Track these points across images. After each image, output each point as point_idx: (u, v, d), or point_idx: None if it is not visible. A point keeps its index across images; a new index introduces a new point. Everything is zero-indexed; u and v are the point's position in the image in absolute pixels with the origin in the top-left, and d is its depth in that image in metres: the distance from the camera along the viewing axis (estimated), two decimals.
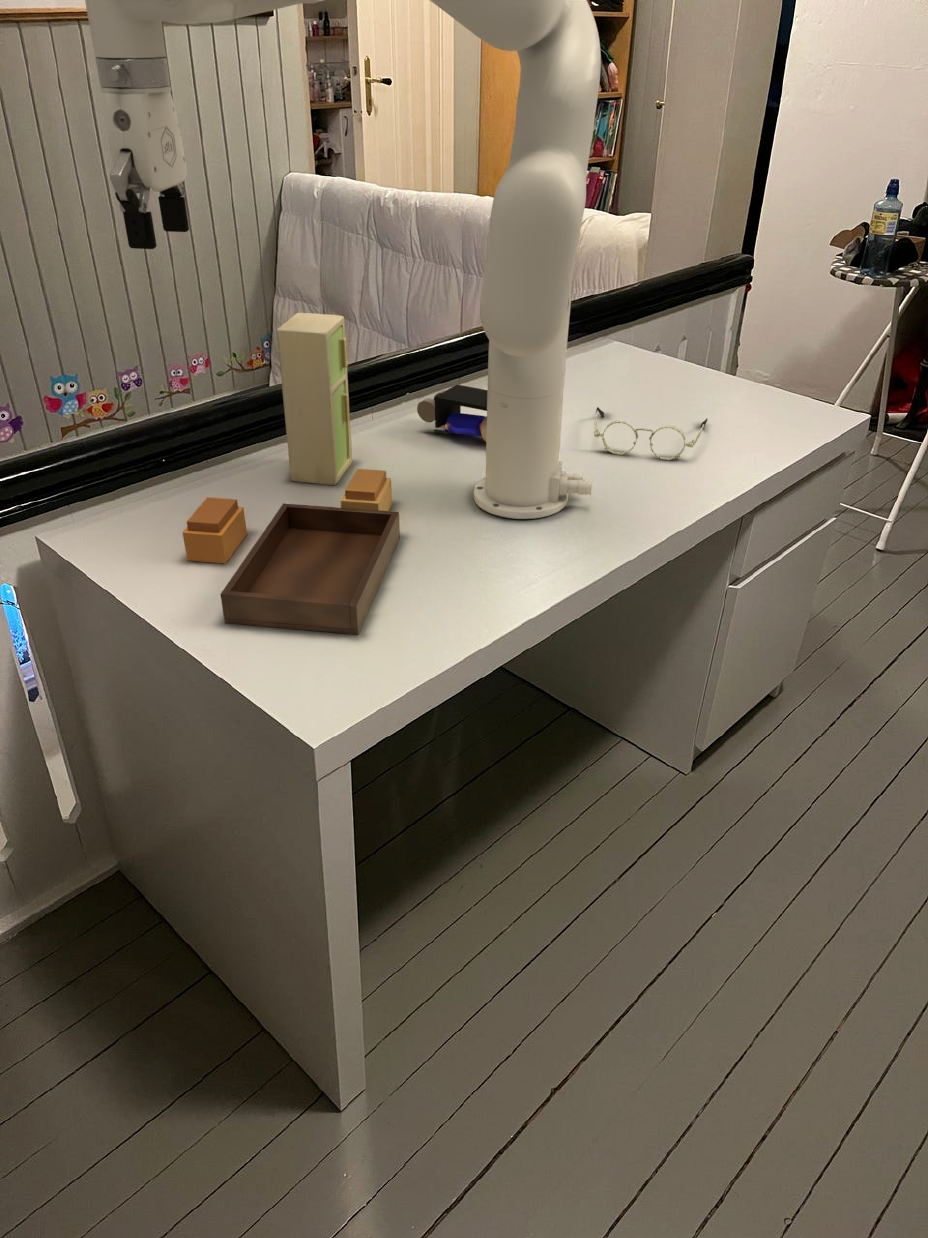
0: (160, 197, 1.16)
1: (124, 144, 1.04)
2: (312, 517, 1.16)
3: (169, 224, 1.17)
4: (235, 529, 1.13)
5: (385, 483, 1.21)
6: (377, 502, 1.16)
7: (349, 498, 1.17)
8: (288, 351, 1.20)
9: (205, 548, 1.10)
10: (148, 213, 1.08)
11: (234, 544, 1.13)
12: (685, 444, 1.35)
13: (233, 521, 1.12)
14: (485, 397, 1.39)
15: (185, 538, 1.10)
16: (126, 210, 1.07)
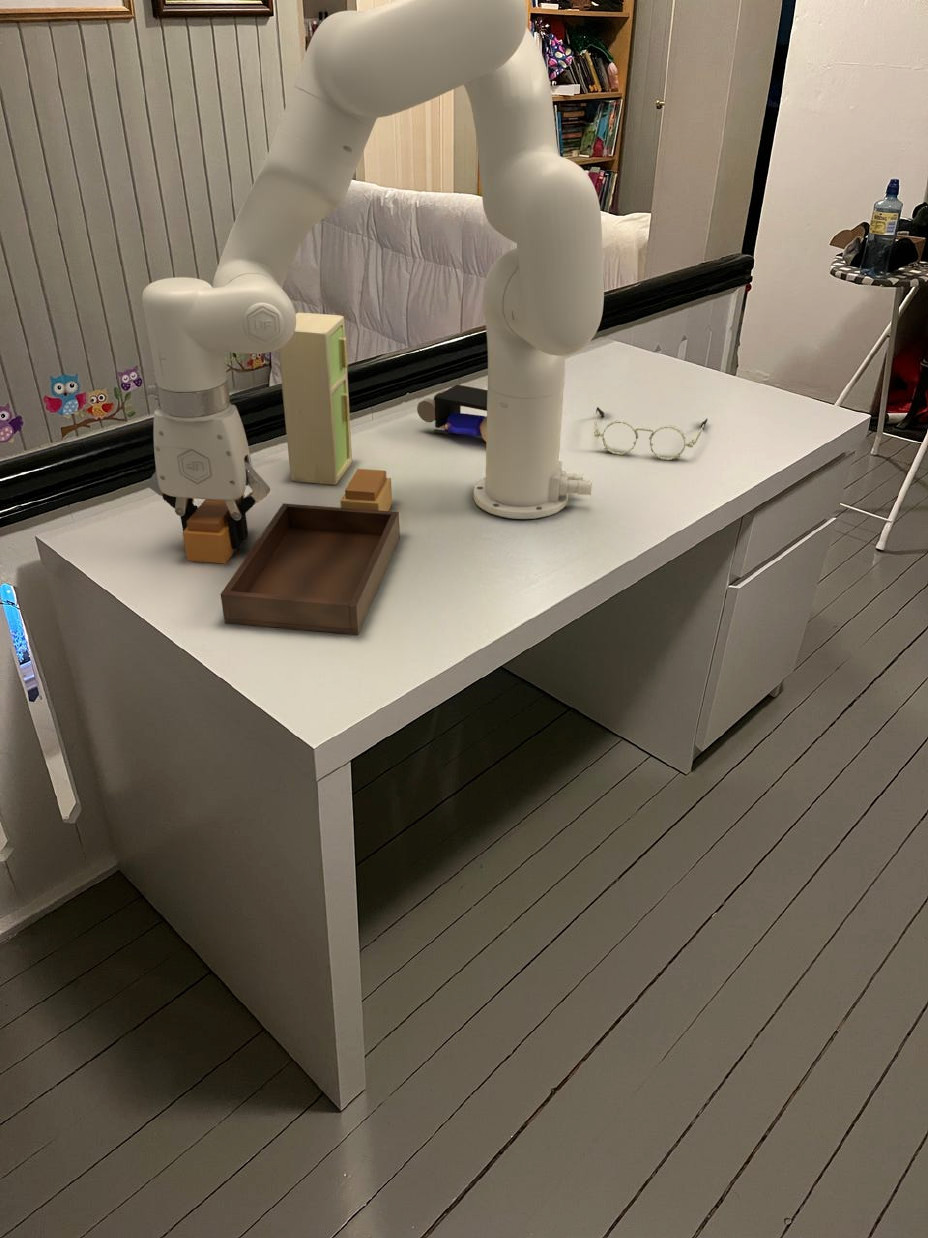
0: None
1: None
2: (312, 517, 1.16)
3: None
4: None
5: (385, 483, 1.21)
6: (377, 502, 1.16)
7: (349, 498, 1.17)
8: (288, 350, 1.20)
9: (205, 548, 1.10)
10: (183, 517, 1.11)
11: None
12: (685, 444, 1.35)
13: None
14: (485, 397, 1.39)
15: (185, 538, 1.10)
16: None
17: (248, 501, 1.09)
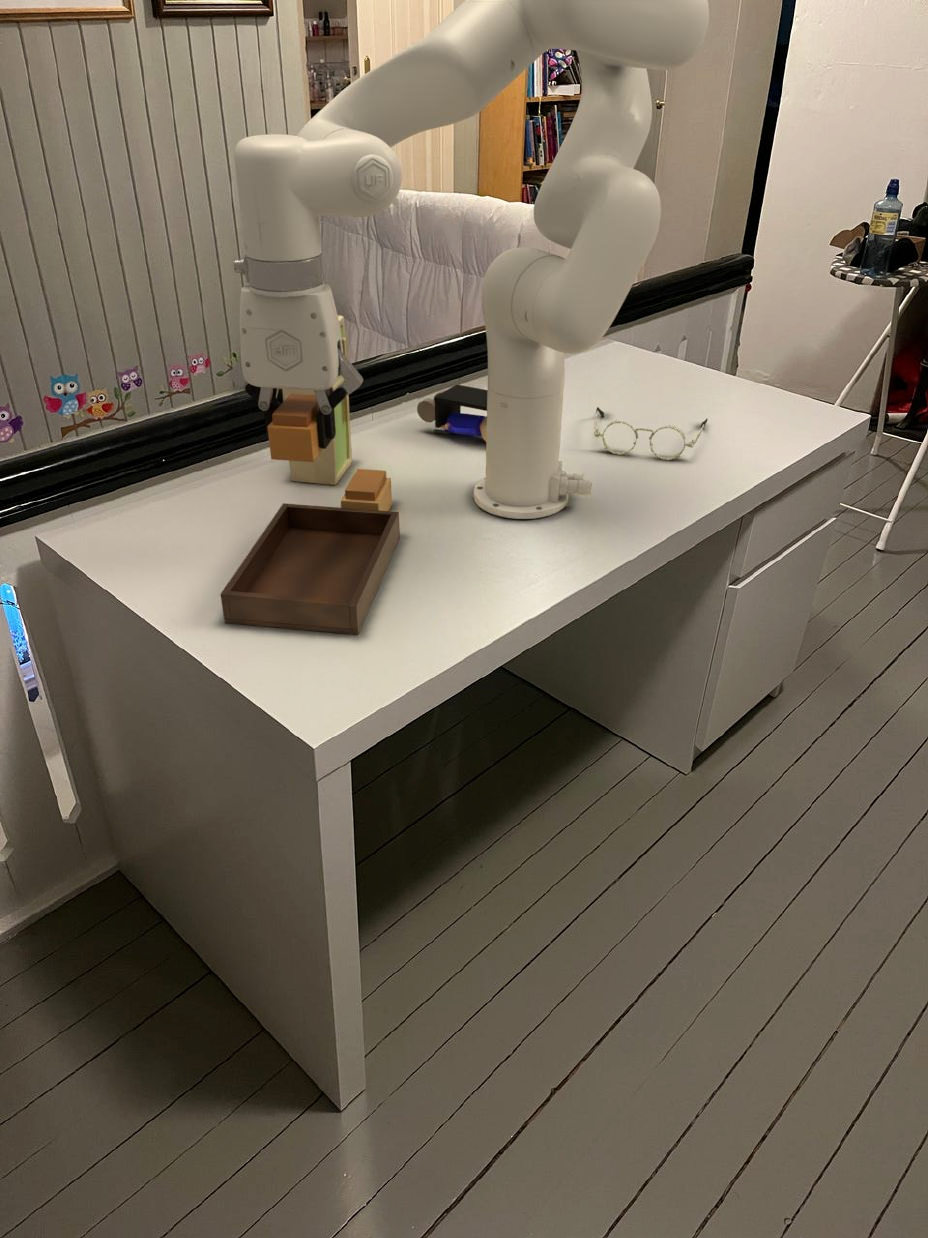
0: None
1: None
2: (312, 517, 1.16)
3: None
4: None
5: (385, 483, 1.21)
6: (377, 502, 1.16)
7: (349, 498, 1.17)
8: None
9: (291, 445, 1.01)
10: (267, 412, 1.02)
11: None
12: (685, 444, 1.35)
13: None
14: (485, 397, 1.39)
15: (270, 433, 1.01)
16: None
17: (339, 392, 1.00)
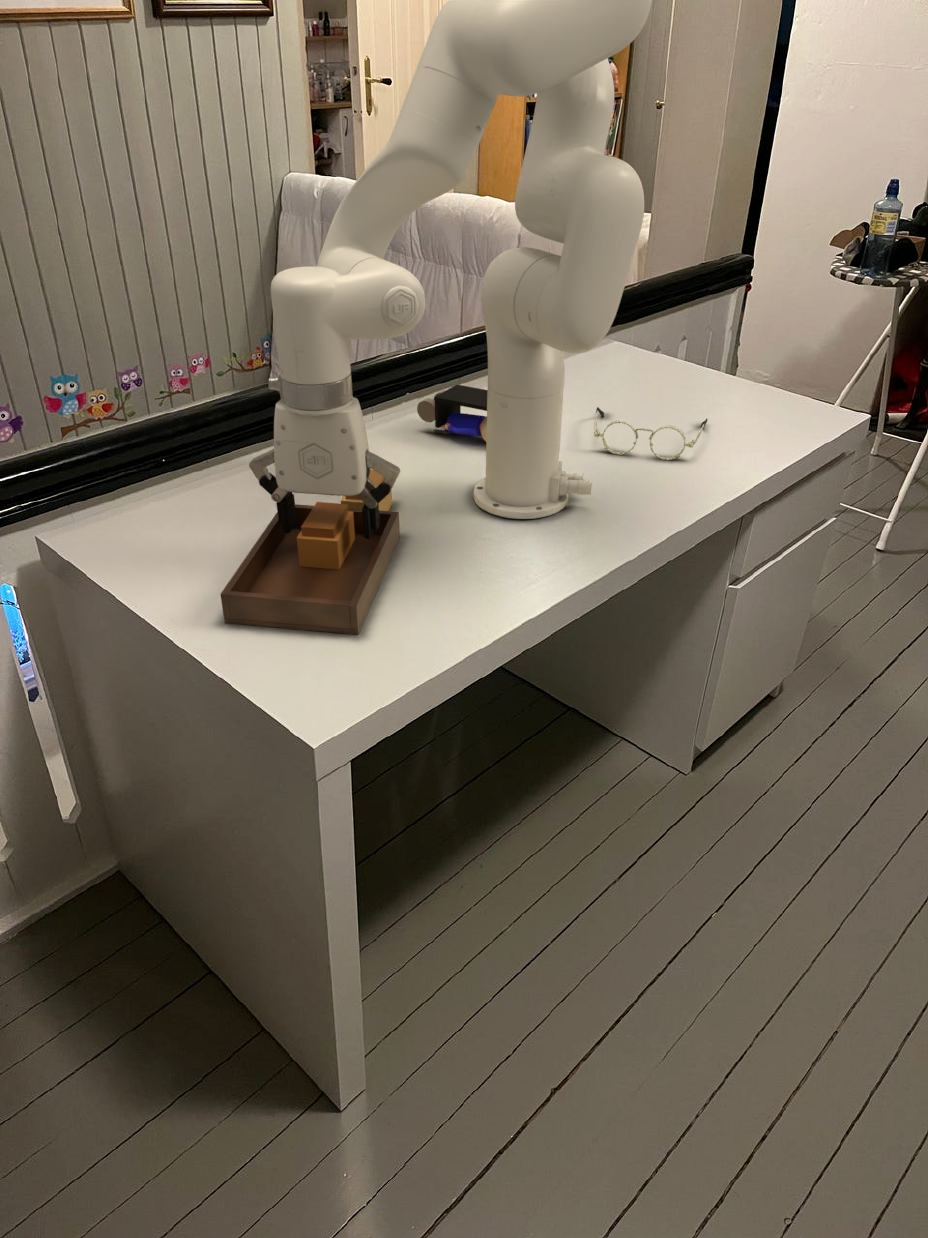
0: None
1: None
2: None
3: None
4: (347, 534, 1.11)
5: None
6: None
7: (349, 498, 1.17)
8: None
9: (319, 554, 1.08)
10: (280, 504, 1.08)
11: (346, 550, 1.11)
12: (685, 444, 1.35)
13: (346, 526, 1.10)
14: (485, 397, 1.39)
15: (299, 544, 1.08)
16: None
17: (384, 488, 1.06)
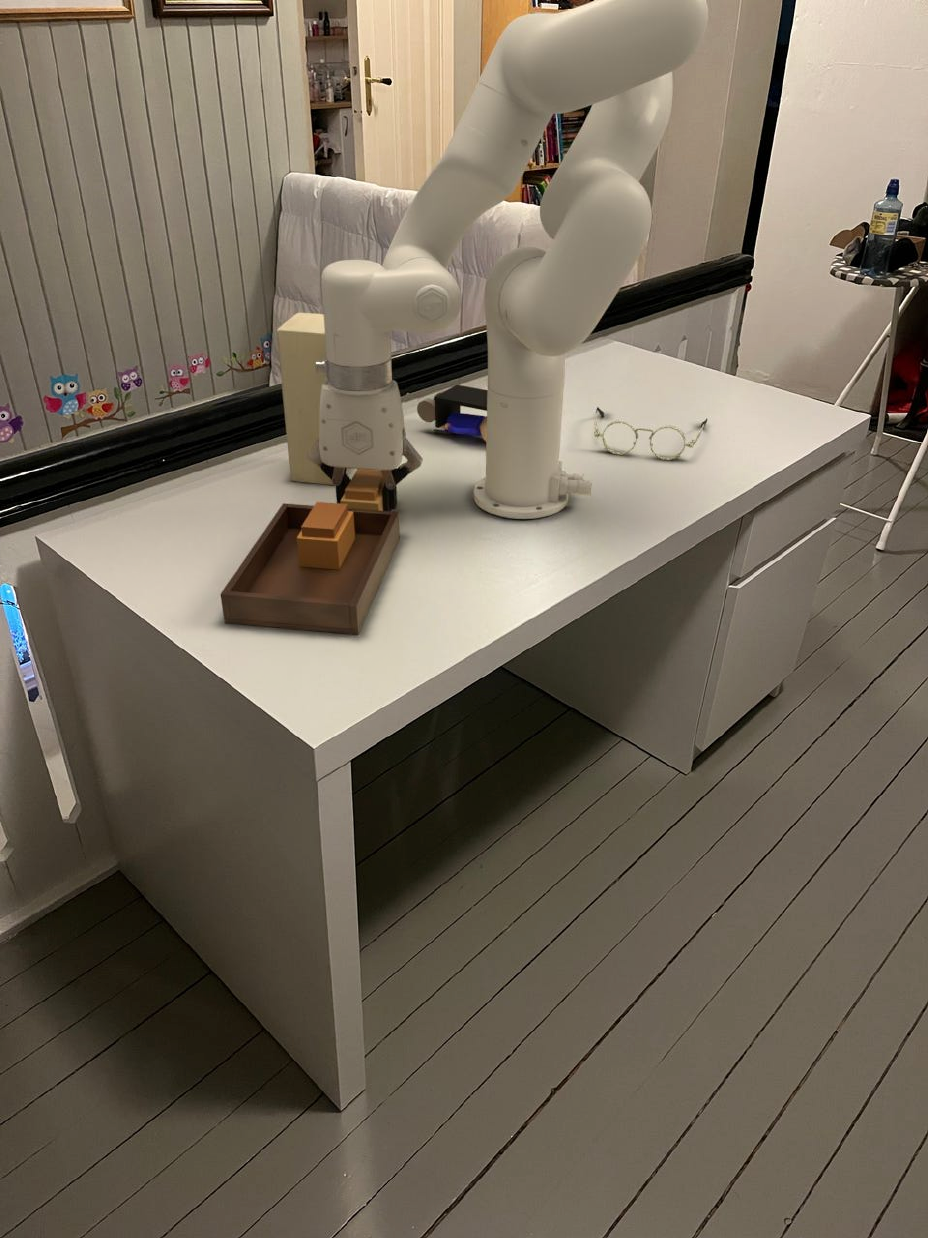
0: None
1: None
2: None
3: None
4: (347, 534, 1.11)
5: None
6: (377, 502, 1.16)
7: (349, 498, 1.17)
8: (288, 351, 1.20)
9: (319, 554, 1.08)
10: (339, 487, 1.18)
11: (346, 550, 1.11)
12: (685, 444, 1.35)
13: (346, 526, 1.10)
14: (485, 397, 1.39)
15: (299, 544, 1.08)
16: None
17: (402, 471, 1.16)
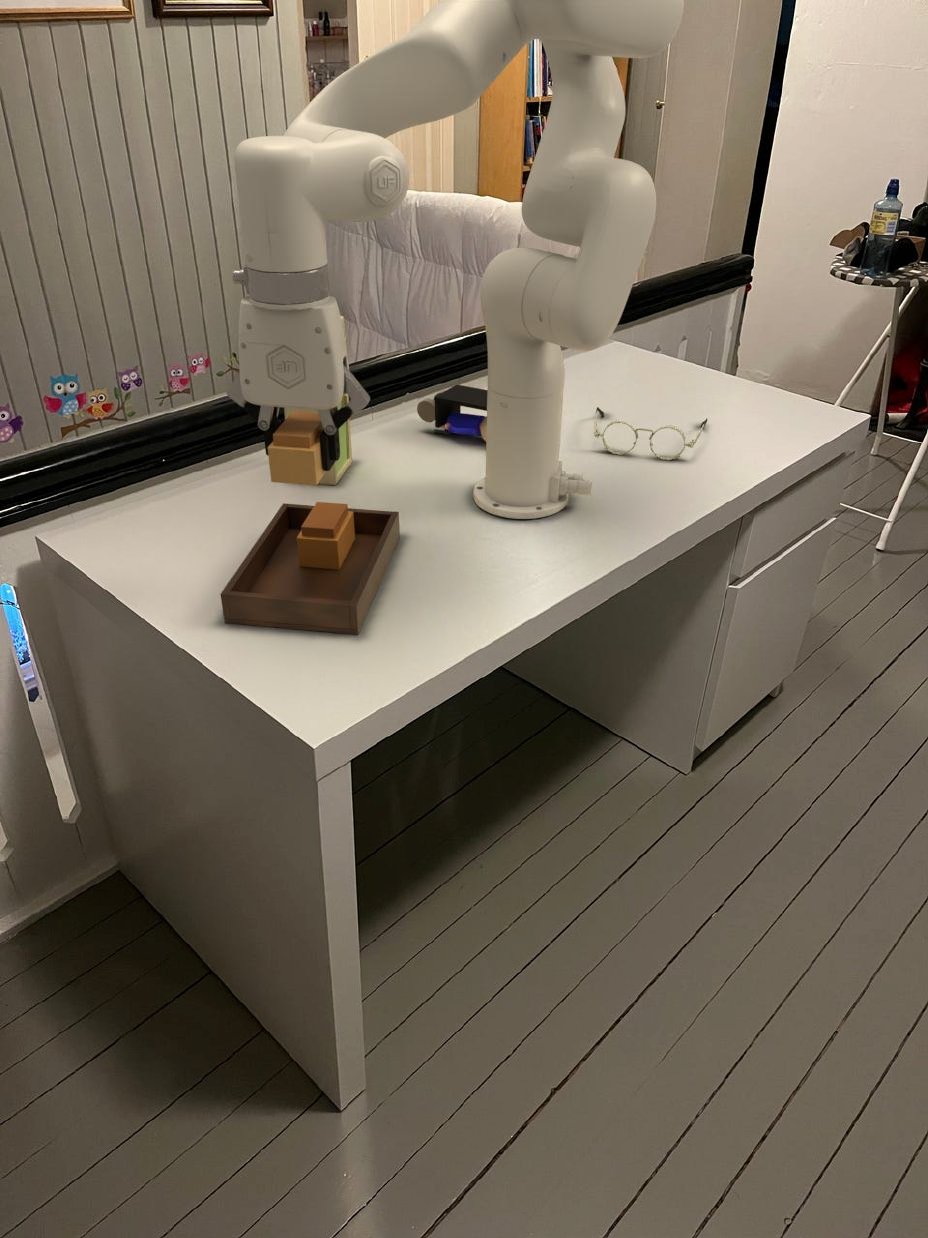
0: None
1: None
2: None
3: None
4: (347, 534, 1.11)
5: None
6: (313, 449, 0.94)
7: (278, 445, 0.94)
8: None
9: (319, 554, 1.08)
10: (267, 432, 0.96)
11: (346, 550, 1.11)
12: (685, 444, 1.35)
13: (346, 526, 1.10)
14: (485, 397, 1.39)
15: (299, 544, 1.08)
16: None
17: (344, 412, 0.94)
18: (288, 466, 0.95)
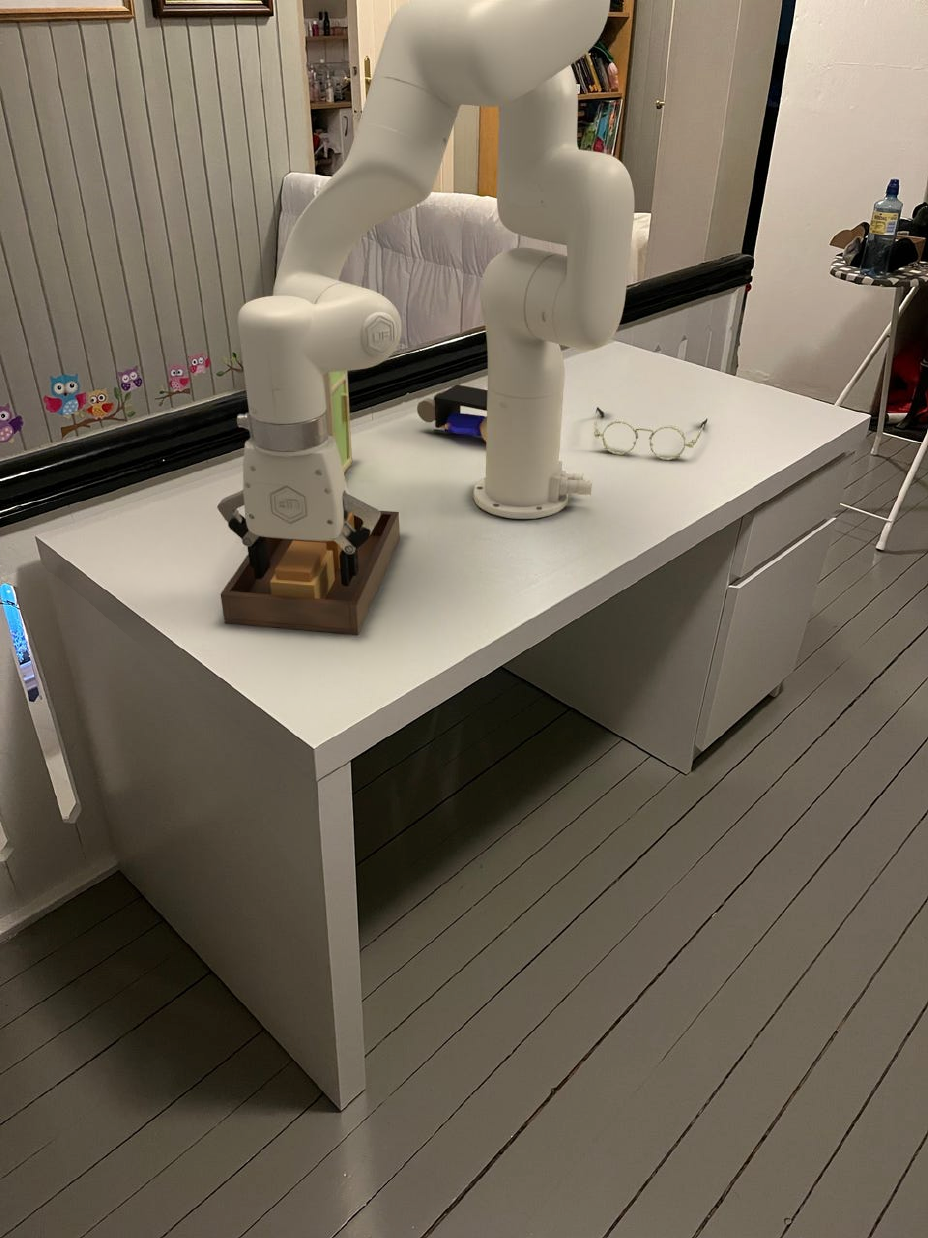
0: None
1: None
2: None
3: None
4: None
5: (325, 558, 1.03)
6: (313, 584, 0.99)
7: (280, 578, 0.99)
8: None
9: None
10: (251, 548, 1.00)
11: None
12: (685, 444, 1.35)
13: None
14: (485, 397, 1.39)
15: None
16: None
17: (363, 533, 0.98)
18: None
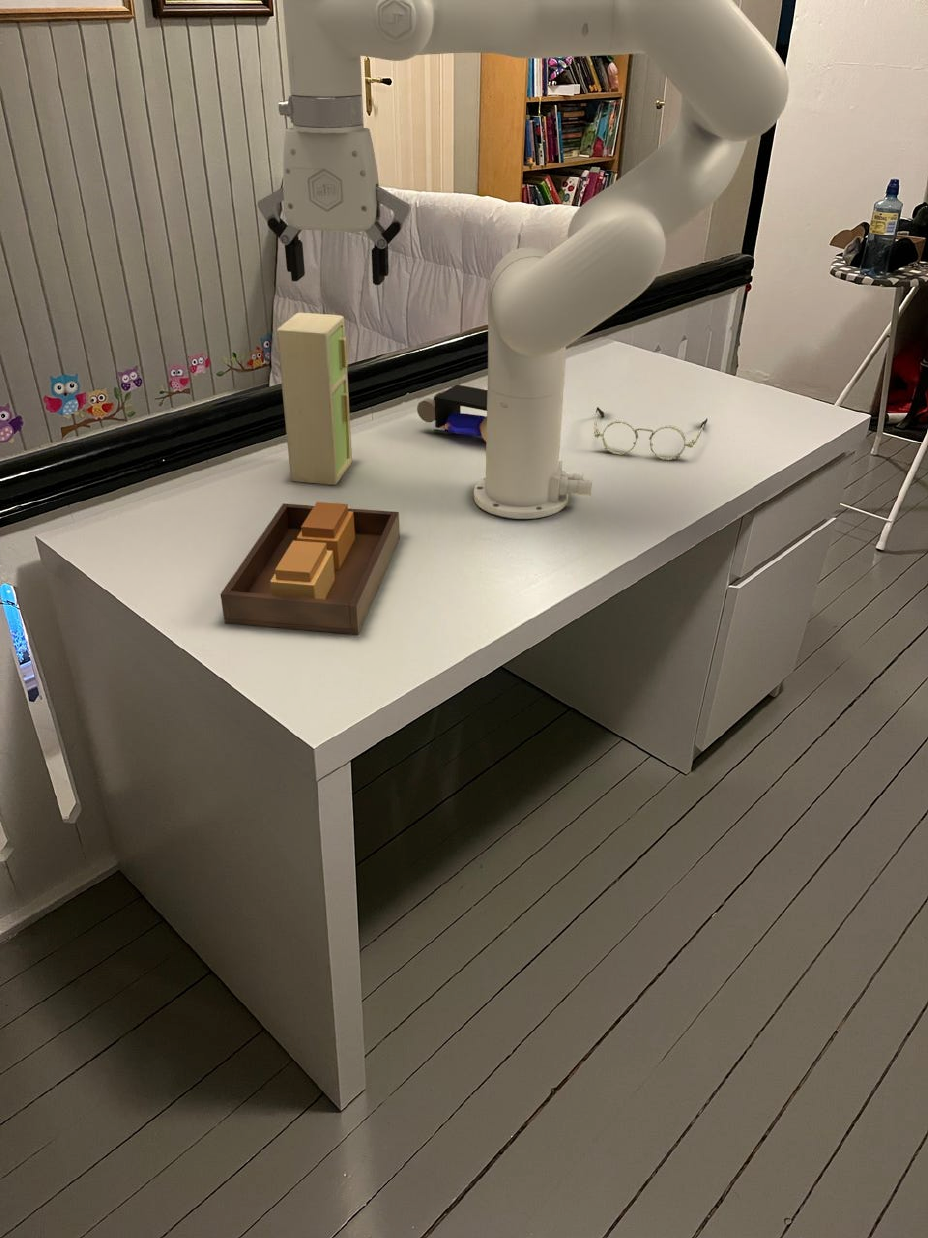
0: None
1: None
2: None
3: None
4: (347, 534, 1.11)
5: (325, 558, 1.03)
6: (313, 584, 0.99)
7: (280, 578, 0.99)
8: (288, 350, 1.20)
9: None
10: (288, 246, 1.07)
11: (346, 550, 1.11)
12: (685, 444, 1.35)
13: (346, 526, 1.10)
14: (485, 397, 1.39)
15: None
16: None
17: (394, 226, 1.05)
18: None
